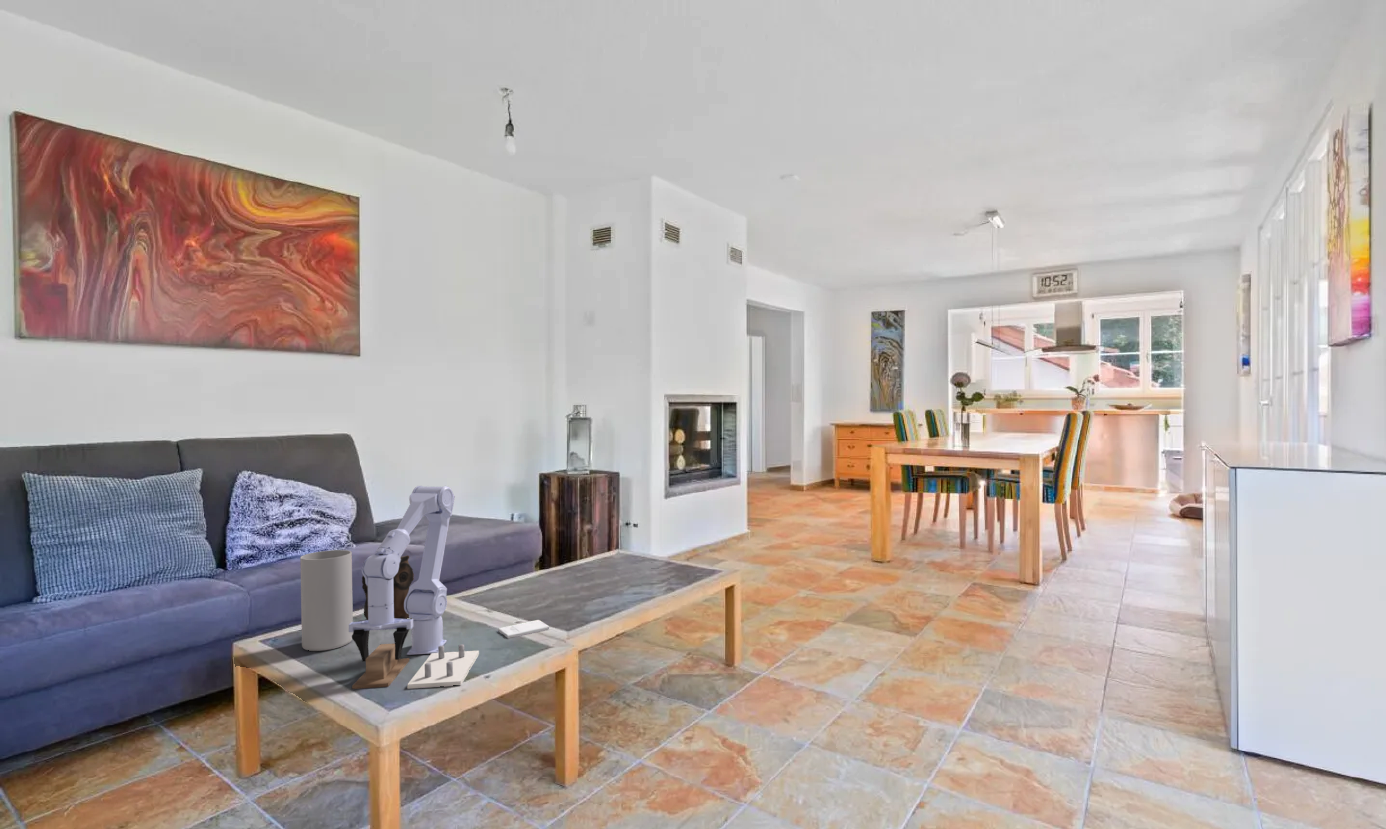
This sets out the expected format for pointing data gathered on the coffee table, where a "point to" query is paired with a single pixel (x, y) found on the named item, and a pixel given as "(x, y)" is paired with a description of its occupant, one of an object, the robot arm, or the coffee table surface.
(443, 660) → the peg base
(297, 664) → the coffee table surface
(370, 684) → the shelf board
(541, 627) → the external hard drive
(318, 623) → the cylinder vase
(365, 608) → the owl
